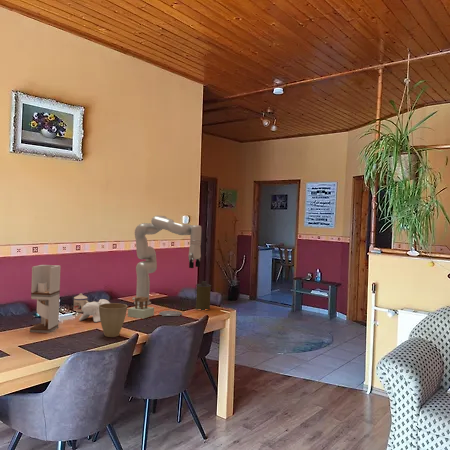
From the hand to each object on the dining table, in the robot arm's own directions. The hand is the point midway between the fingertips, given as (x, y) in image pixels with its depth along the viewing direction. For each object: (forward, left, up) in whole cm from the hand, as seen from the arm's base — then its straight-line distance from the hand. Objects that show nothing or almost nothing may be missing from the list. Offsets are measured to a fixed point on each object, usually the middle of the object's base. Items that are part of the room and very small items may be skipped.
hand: (194, 267), depth 297 cm
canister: (+3, +10, -31) cm, 33 cm away
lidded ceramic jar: (-61, -42, -31) cm, 80 cm away
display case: (-45, -89, -31) cm, 104 cm away
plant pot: (-7, -79, -31) cm, 85 cm away
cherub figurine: (-40, -54, -31) cm, 74 cm away
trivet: (-7, -18, -31) cm, 36 cm away
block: (-21, -32, -31) cm, 49 cm away
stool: (-21, -32, -26) cm, 46 cm away
